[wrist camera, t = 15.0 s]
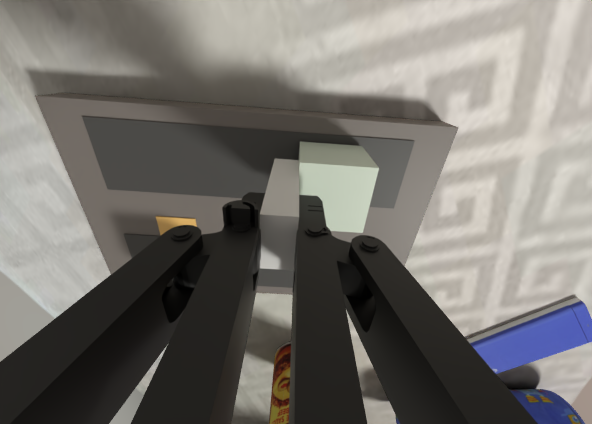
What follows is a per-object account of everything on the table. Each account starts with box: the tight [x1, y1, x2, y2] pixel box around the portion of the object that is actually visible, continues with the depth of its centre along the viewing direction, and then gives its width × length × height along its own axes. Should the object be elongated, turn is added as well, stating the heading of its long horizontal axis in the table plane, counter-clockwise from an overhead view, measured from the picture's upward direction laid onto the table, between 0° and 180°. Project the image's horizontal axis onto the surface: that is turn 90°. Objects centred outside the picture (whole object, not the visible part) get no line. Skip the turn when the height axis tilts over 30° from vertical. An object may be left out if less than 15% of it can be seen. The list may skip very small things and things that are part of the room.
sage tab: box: [298, 142, 379, 233], centre depth 15 cm, size 4×4×4 cm
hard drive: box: [467, 297, 592, 374], centre depth 29 cm, size 2×8×12 cm
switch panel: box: [35, 93, 458, 295], centre depth 20 cm, size 16×26×2 cm, turn 86°
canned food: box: [269, 342, 291, 424], centre depth 27 cm, size 8×8×12 cm
